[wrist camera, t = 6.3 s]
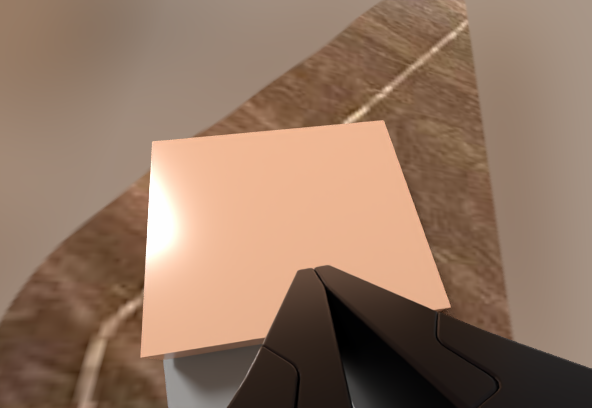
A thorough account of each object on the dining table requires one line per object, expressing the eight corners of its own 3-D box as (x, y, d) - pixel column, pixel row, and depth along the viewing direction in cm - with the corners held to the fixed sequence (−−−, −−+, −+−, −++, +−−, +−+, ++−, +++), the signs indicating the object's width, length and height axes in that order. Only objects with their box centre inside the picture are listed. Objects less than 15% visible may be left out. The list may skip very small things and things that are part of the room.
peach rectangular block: (451, 306, 12) (383, 120, 16) (140, 357, 11) (152, 141, 15) (423, 317, 14) (370, 151, 18) (164, 360, 13) (169, 172, 17)
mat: (452, 433, 14) (460, 438, 13) (186, 528, 12) (182, 538, 11) (380, 232, 17) (384, 229, 16) (159, 285, 15) (155, 283, 14)
